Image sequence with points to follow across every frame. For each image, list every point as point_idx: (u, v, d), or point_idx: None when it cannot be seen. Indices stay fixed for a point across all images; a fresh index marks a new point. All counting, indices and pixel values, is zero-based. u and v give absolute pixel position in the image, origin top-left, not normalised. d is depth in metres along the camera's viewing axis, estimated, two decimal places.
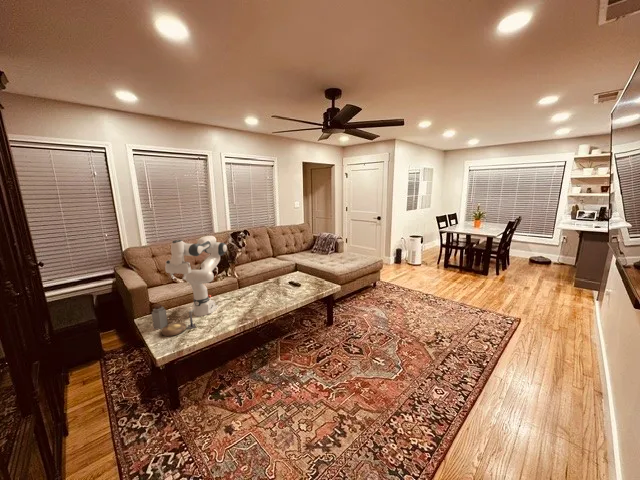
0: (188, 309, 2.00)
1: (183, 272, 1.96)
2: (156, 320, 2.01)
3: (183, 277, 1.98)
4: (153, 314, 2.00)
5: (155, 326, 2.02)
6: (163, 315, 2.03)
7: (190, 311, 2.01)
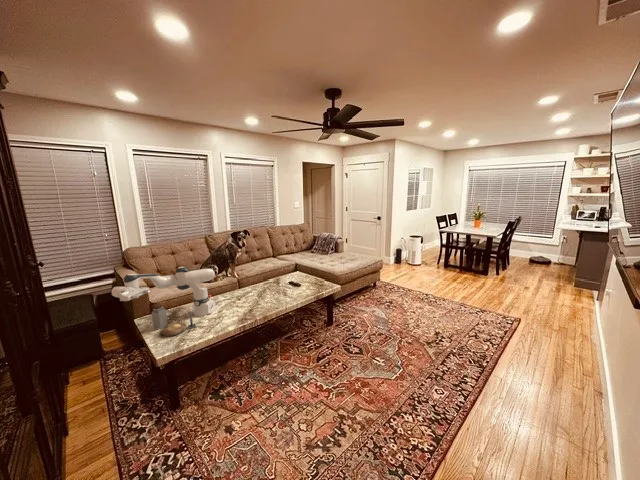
0: (188, 309, 2.00)
1: (144, 289, 2.10)
2: (156, 320, 2.01)
3: (147, 290, 2.09)
4: (153, 314, 2.00)
5: (155, 326, 2.02)
6: (163, 315, 2.03)
7: (190, 311, 2.01)
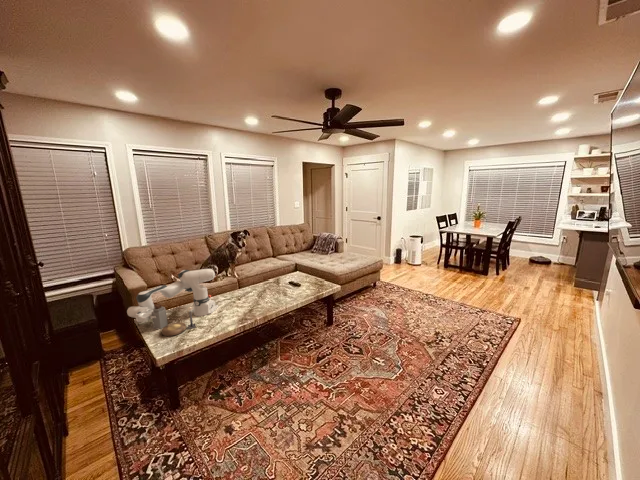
0: (188, 309, 2.00)
1: None
2: (156, 320, 2.01)
3: None
4: (153, 314, 2.00)
5: (155, 326, 2.02)
6: (163, 315, 2.03)
7: (190, 311, 2.01)
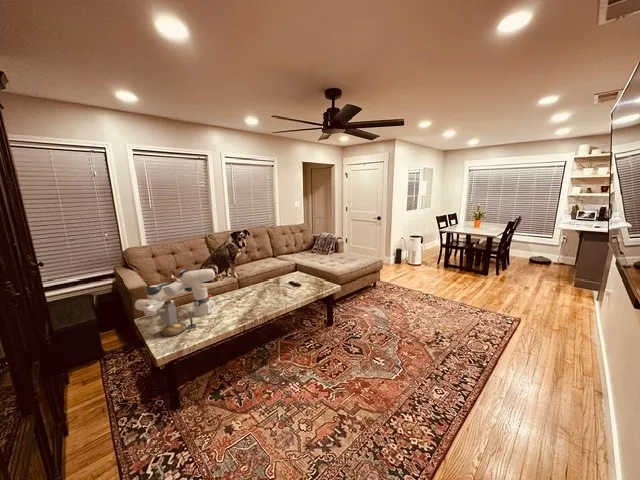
0: (188, 309, 2.00)
1: None
2: (166, 316, 1.93)
3: None
4: None
5: (164, 322, 1.95)
6: (172, 311, 1.96)
7: (190, 311, 2.01)
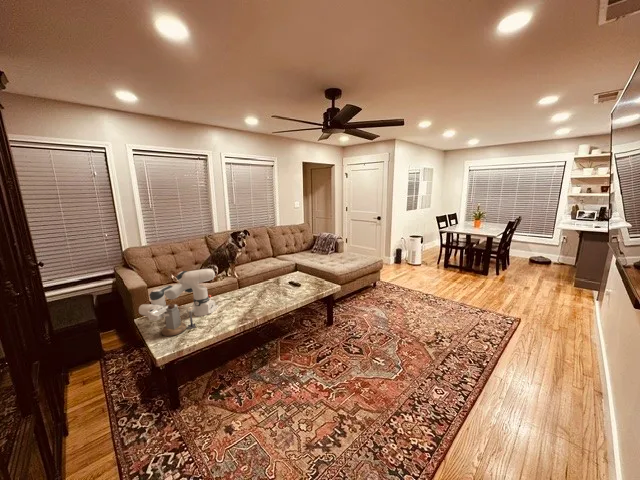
0: (188, 309, 2.00)
1: None
2: (169, 320, 1.93)
3: None
4: None
5: (168, 326, 1.95)
6: (176, 315, 1.96)
7: (190, 311, 2.01)
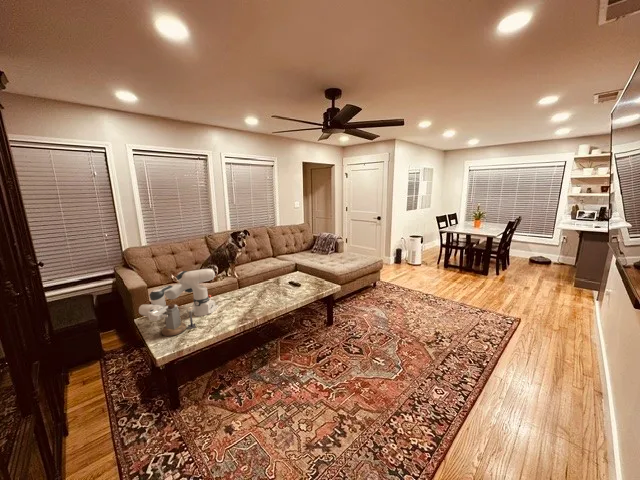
0: (188, 309, 2.00)
1: None
2: (169, 320, 1.93)
3: None
4: None
5: (168, 326, 1.94)
6: (176, 315, 1.95)
7: (190, 311, 2.01)
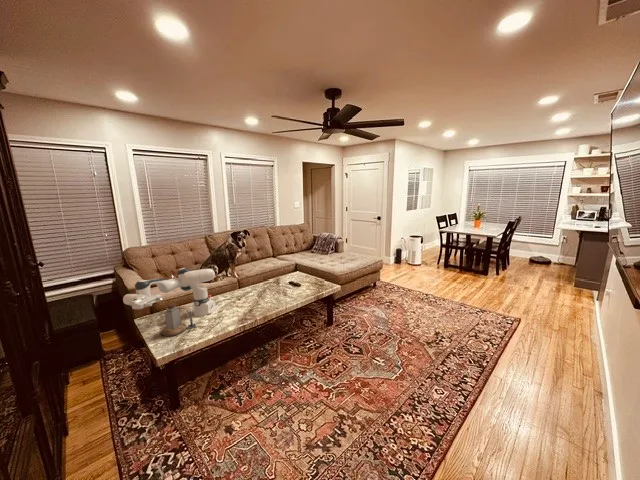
0: (188, 309, 2.00)
1: (157, 296, 2.03)
2: (169, 320, 1.93)
3: (160, 298, 2.02)
4: (166, 314, 1.93)
5: (168, 326, 1.94)
6: (176, 315, 1.95)
7: (190, 311, 2.01)
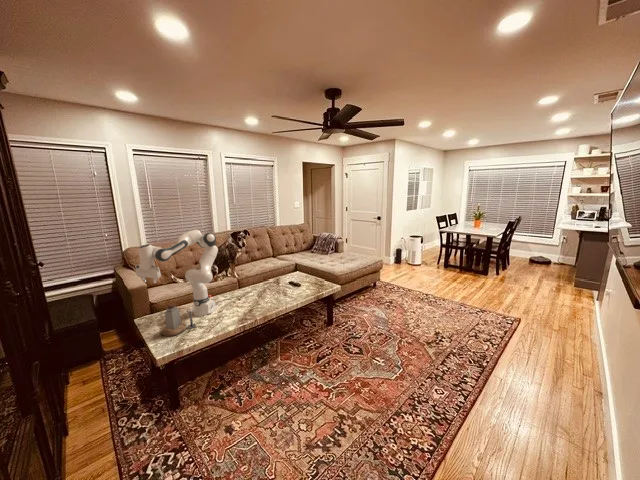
0: (188, 309, 2.00)
1: (153, 276, 1.99)
2: (169, 320, 1.93)
3: (153, 281, 2.01)
4: (166, 314, 1.93)
5: (168, 326, 1.94)
6: (176, 315, 1.95)
7: (190, 311, 2.01)
